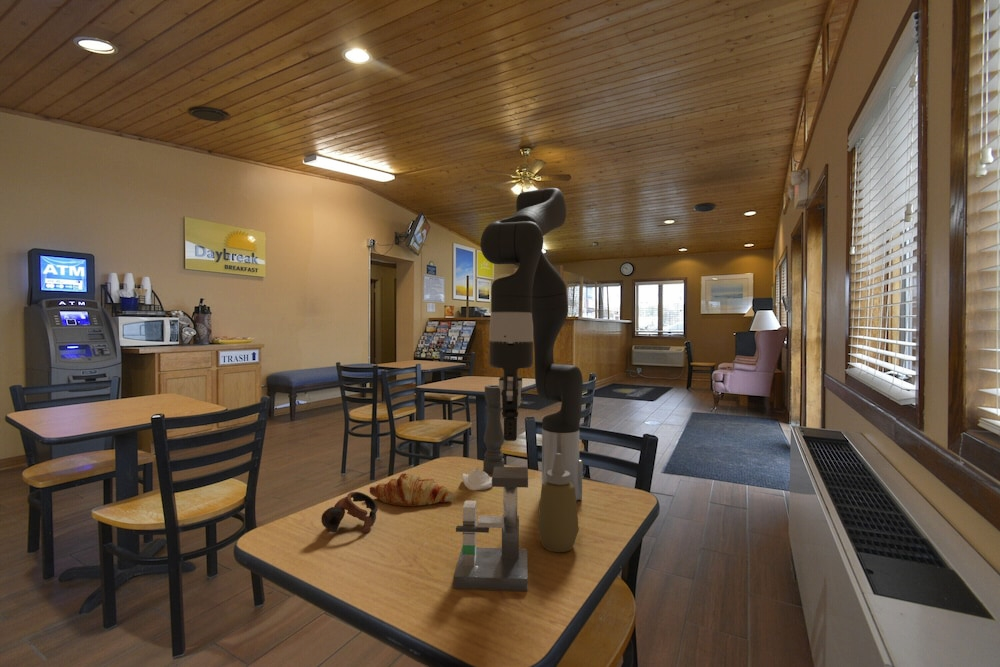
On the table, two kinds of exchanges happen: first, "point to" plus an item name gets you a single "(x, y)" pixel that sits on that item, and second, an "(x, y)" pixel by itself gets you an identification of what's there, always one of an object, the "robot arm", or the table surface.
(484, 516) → the dark grey blocky piece
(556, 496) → the squeeze bottle
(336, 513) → the brown headphones
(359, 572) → the table surface
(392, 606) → the table surface
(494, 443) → the candle holder
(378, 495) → the croissant
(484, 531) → the peak pointer
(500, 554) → the frame
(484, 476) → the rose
